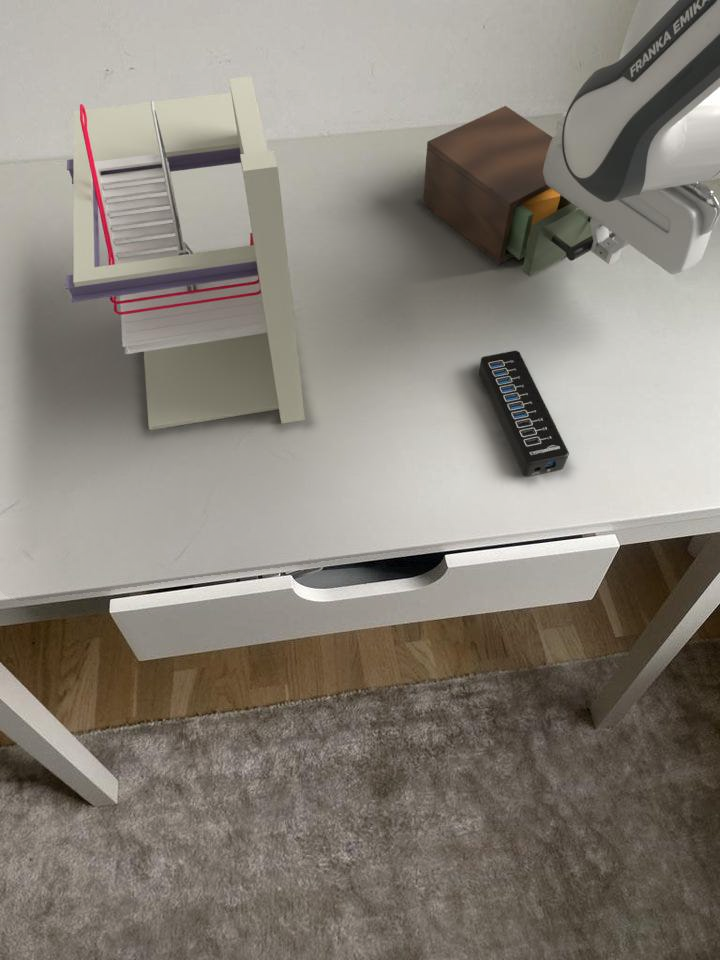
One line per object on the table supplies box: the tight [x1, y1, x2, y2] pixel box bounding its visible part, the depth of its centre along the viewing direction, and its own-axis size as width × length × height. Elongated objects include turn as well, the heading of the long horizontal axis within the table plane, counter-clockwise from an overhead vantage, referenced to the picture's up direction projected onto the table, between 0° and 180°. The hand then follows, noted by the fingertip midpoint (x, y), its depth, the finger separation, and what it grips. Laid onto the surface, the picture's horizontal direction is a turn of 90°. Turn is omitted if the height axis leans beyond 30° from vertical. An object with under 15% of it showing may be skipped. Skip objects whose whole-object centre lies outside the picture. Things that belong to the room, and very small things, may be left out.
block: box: [521, 188, 560, 236], centre depth 92 cm, size 5×5×5 cm
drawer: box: [506, 195, 616, 277], centre depth 92 cm, size 18×12×7 cm, turn 36°
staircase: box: [65, 75, 306, 431], centre depth 74 cm, size 27×18×30 cm
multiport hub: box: [477, 350, 570, 478], centre depth 79 cm, size 4×14×2 cm, turn 14°
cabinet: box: [422, 105, 554, 265], centre depth 95 cm, size 15×13×9 cm
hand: (604, 256), depth 87 cm, fingers closed
